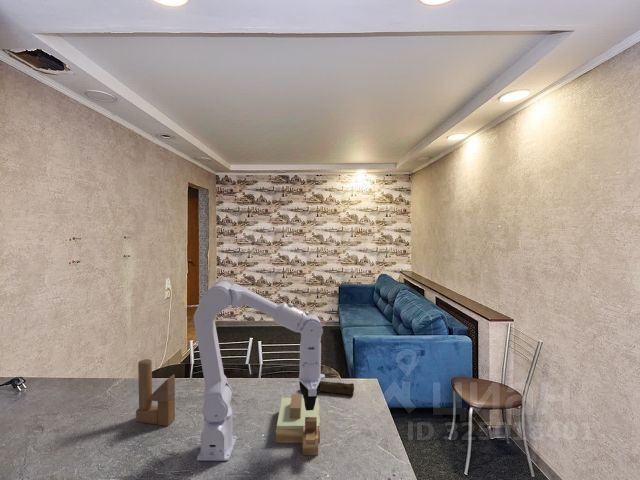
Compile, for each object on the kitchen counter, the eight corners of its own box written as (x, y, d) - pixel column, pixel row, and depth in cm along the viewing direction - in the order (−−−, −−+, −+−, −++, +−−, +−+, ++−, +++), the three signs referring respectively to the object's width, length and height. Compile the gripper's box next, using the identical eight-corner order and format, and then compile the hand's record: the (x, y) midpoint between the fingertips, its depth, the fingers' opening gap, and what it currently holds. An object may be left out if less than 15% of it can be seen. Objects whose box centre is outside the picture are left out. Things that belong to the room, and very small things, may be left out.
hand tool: (354, 392, 124) (354, 379, 124) (353, 398, 120) (353, 384, 120) (303, 386, 128) (303, 374, 128) (300, 392, 124) (300, 379, 124)
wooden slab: (320, 455, 90) (320, 438, 90) (273, 454, 90) (273, 438, 90) (319, 410, 111) (319, 397, 111) (281, 410, 111) (281, 396, 111)
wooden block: (168, 426, 101) (167, 366, 101) (135, 422, 104) (134, 363, 103) (175, 419, 105) (175, 361, 104) (144, 415, 107) (143, 358, 106)
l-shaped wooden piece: (316, 444, 87) (316, 430, 87) (304, 444, 87) (304, 430, 87) (316, 430, 93) (316, 417, 93) (305, 430, 93) (305, 417, 93)
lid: (319, 429, 95) (319, 415, 95) (276, 429, 95) (276, 415, 95) (318, 400, 111) (318, 388, 110) (281, 400, 110) (282, 388, 110)
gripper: (328, 371, 87) (327, 423, 88) (321, 349, 102) (320, 395, 102) (300, 372, 86) (299, 425, 87) (297, 350, 101) (296, 396, 102)
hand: (309, 409), depth 95 cm, fingers closed
